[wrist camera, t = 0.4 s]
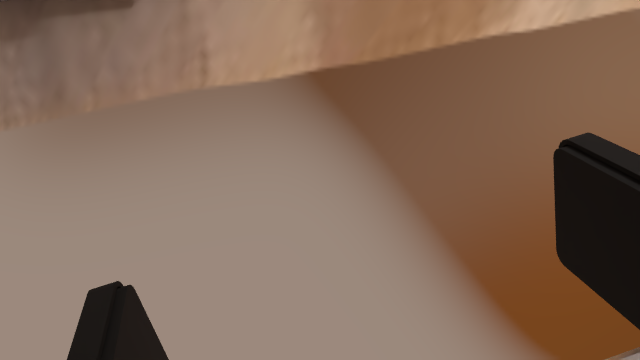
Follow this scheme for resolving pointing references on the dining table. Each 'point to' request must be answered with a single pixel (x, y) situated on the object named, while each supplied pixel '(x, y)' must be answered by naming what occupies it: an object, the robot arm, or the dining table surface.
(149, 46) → the dining table surface
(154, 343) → the robot arm
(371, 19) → the dining table surface
